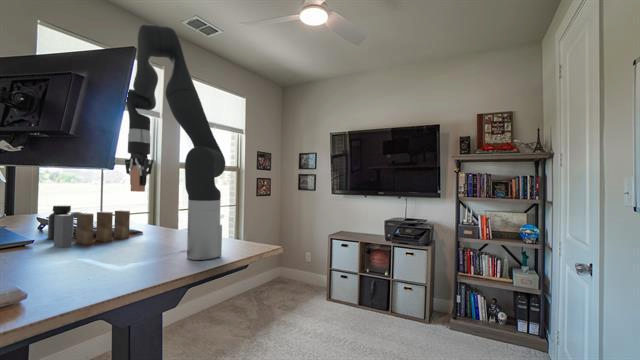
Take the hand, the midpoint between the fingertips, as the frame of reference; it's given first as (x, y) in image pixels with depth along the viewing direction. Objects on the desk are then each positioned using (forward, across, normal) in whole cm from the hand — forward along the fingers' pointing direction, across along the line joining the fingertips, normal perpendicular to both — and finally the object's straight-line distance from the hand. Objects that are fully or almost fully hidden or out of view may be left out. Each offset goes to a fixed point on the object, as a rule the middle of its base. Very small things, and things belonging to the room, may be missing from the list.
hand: (138, 185), depth 114 cm
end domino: (+20, 0, -24) cm, 31 cm away
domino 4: (+2, 0, 0) cm, 2 cm away
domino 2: (+20, 0, -12) cm, 23 cm away
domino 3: (+20, 0, -6) cm, 20 cm away
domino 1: (+20, 0, -18) cm, 26 cm away
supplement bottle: (+20, -14, -18) cm, 30 cm away
